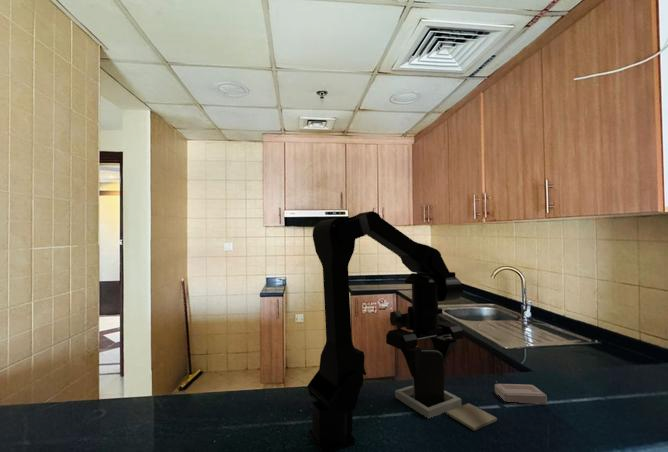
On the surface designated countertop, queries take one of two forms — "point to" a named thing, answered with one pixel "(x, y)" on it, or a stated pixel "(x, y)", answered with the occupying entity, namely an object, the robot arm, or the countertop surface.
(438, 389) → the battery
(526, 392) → the soap bar
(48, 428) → the countertop surface
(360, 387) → the robot arm
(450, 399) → the frame
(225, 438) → the countertop surface
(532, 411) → the countertop surface
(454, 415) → the pad
